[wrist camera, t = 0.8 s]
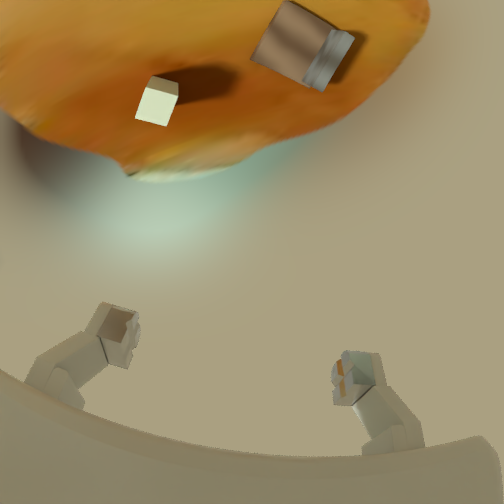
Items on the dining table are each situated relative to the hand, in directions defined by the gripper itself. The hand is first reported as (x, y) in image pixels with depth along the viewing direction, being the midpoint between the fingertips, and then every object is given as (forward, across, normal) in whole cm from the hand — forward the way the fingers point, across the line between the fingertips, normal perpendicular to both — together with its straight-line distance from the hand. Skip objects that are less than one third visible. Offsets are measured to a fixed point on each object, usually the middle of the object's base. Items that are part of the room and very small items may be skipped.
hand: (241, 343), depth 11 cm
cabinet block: (+39, +18, -3) cm, 43 cm away
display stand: (+44, -1, -15) cm, 47 cm away
